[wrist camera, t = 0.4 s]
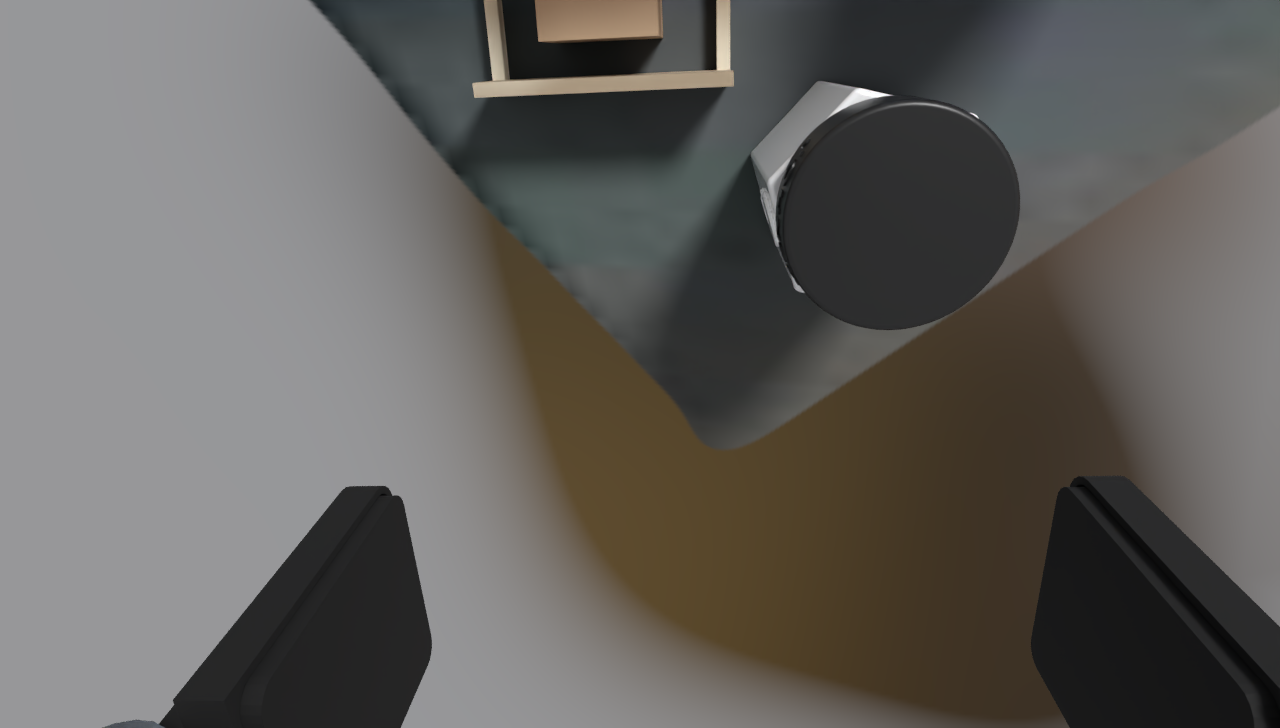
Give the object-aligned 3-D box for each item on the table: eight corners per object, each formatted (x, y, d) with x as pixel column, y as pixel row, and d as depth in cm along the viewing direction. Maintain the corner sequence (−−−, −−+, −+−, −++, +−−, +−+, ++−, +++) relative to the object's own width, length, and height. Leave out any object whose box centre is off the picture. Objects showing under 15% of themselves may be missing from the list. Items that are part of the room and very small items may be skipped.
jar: (733, 109, 36) (751, 132, 25) (903, 51, 35) (1001, 49, 24) (779, 279, 39) (813, 367, 28) (937, 233, 38) (1038, 307, 27)
